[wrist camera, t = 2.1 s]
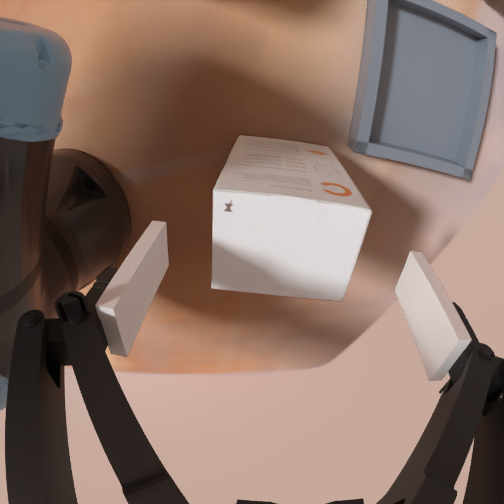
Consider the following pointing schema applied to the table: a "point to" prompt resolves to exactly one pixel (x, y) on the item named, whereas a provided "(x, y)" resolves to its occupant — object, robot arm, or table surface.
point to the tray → (422, 85)
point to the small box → (286, 221)
